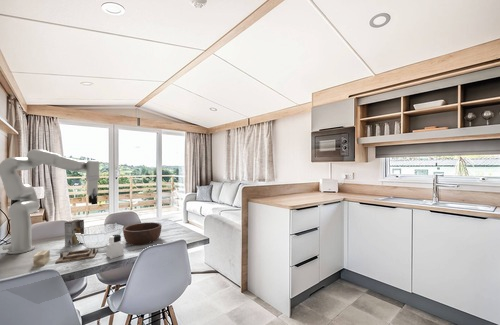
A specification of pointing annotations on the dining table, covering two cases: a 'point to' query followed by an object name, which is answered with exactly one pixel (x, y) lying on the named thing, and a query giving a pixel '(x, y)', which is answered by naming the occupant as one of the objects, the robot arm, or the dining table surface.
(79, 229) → the coffee box
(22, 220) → the robot arm
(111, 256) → the medicine bottle
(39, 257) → the oak key block
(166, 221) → the dining table surface
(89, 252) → the keyed frame
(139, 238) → the wooden bowl
